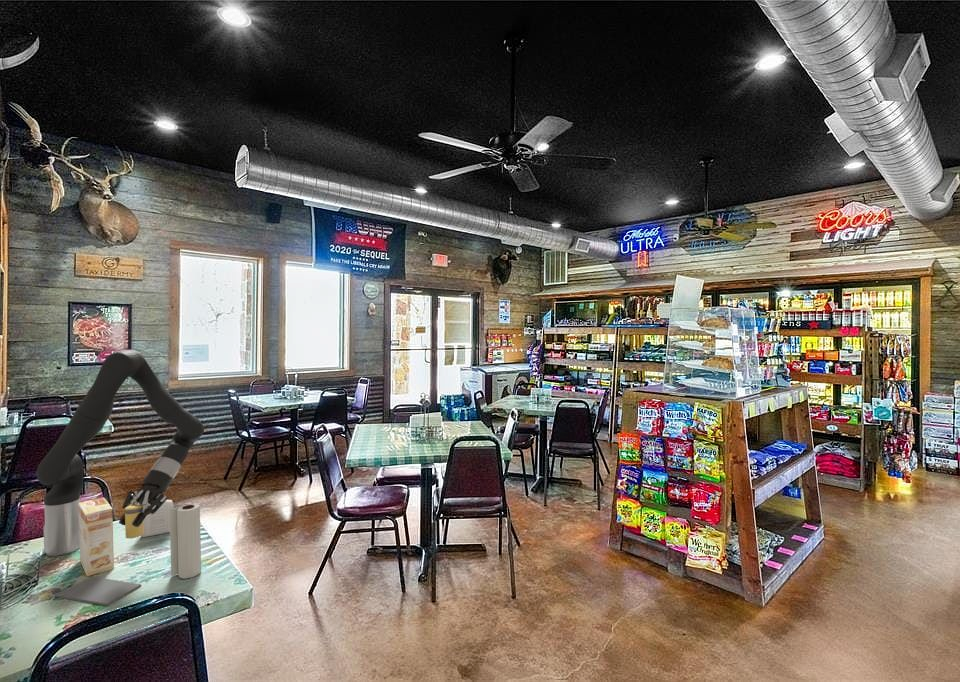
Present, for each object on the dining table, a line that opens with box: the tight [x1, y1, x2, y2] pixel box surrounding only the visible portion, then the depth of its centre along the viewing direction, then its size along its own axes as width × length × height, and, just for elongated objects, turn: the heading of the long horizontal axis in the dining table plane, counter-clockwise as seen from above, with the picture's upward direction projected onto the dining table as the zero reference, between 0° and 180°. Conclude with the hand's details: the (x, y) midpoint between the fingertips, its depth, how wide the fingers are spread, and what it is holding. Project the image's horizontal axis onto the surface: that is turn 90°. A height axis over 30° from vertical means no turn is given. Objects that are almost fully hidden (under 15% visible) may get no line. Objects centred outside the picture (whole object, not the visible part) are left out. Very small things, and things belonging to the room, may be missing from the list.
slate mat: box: [54, 575, 142, 607], centre depth 136 cm, size 19×10×1 cm, turn 77°
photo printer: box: [140, 499, 175, 538], centre depth 174 cm, size 10×4×12 cm, turn 123°
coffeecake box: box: [78, 497, 115, 577], centre depth 152 cm, size 15×7×20 cm, turn 47°
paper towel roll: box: [169, 503, 202, 580], centre depth 146 cm, size 7×6×21 cm
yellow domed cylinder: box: [124, 503, 143, 539], centre depth 146 cm, size 5×5×9 cm
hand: (128, 524), depth 145 cm, fingers closed on yellow domed cylinder, 4 cm apart
